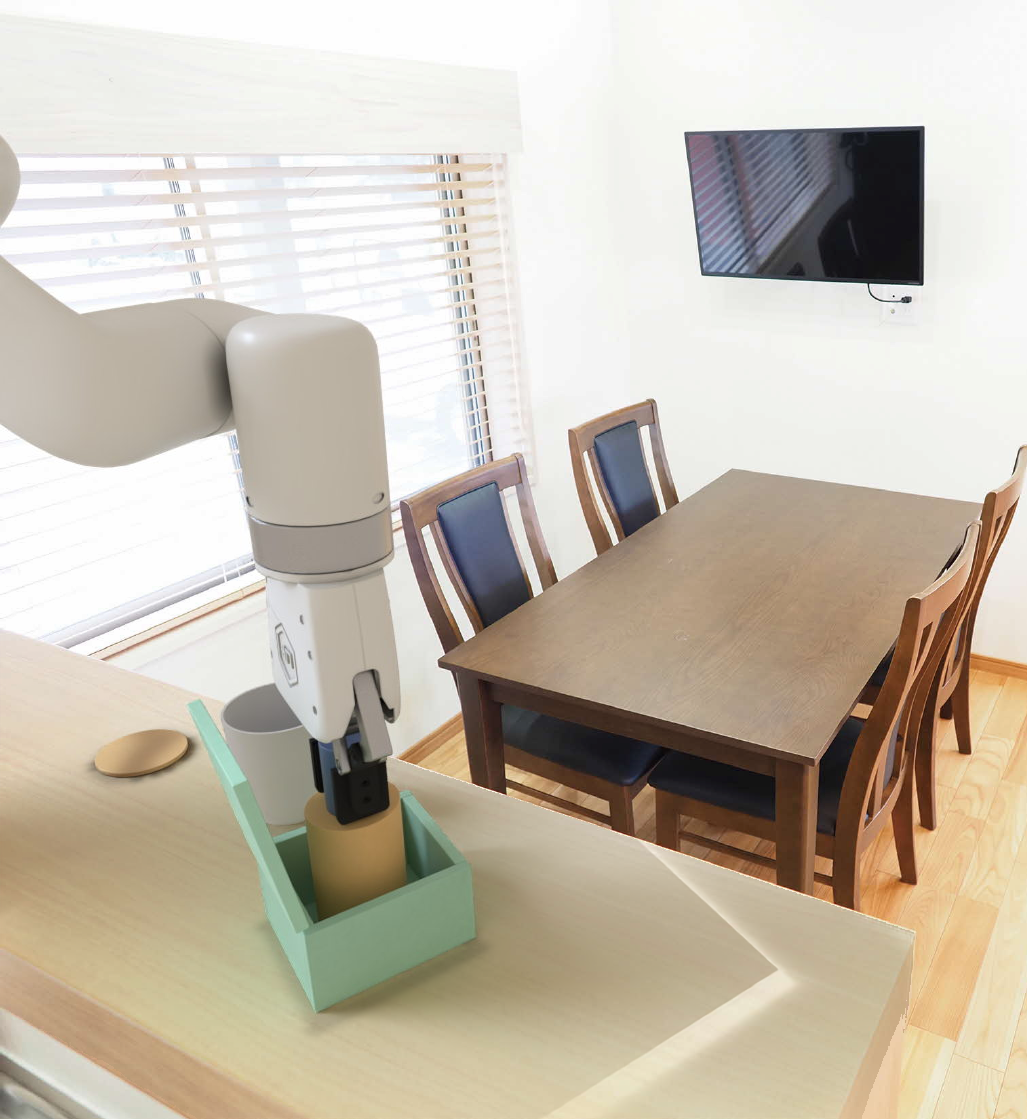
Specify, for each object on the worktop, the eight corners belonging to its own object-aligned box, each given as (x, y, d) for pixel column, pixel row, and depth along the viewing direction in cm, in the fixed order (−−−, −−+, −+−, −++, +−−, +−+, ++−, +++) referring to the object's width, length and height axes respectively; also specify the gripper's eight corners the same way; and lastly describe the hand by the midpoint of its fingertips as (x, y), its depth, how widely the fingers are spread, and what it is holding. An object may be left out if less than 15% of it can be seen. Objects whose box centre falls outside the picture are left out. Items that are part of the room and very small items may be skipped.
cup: (356, 825, 76) (343, 718, 73) (244, 855, 72) (224, 744, 69) (339, 773, 83) (326, 672, 79) (234, 798, 79) (216, 693, 75)
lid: (199, 697, 58) (185, 703, 58) (247, 779, 51) (232, 787, 51) (259, 835, 64) (246, 841, 63) (310, 927, 56) (296, 935, 56)
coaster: (102, 787, 79) (101, 783, 79) (89, 748, 84) (88, 745, 84) (196, 759, 83) (195, 755, 83) (178, 724, 88) (177, 721, 88)
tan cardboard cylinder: (337, 968, 62) (312, 774, 56) (308, 916, 66) (283, 730, 60) (423, 929, 65) (408, 743, 60) (391, 882, 69) (374, 704, 64)
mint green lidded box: (415, 863, 73) (408, 788, 70) (476, 945, 65) (472, 866, 63) (266, 923, 66) (253, 843, 64) (316, 1022, 59) (304, 937, 56)
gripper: (215, 505, 58) (254, 759, 65) (301, 599, 47) (336, 895, 54) (341, 487, 63) (364, 726, 70) (446, 569, 51) (462, 844, 58)
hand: (352, 797), depth 62 cm, fingers closed on tan cardboard cylinder, 3 cm apart
